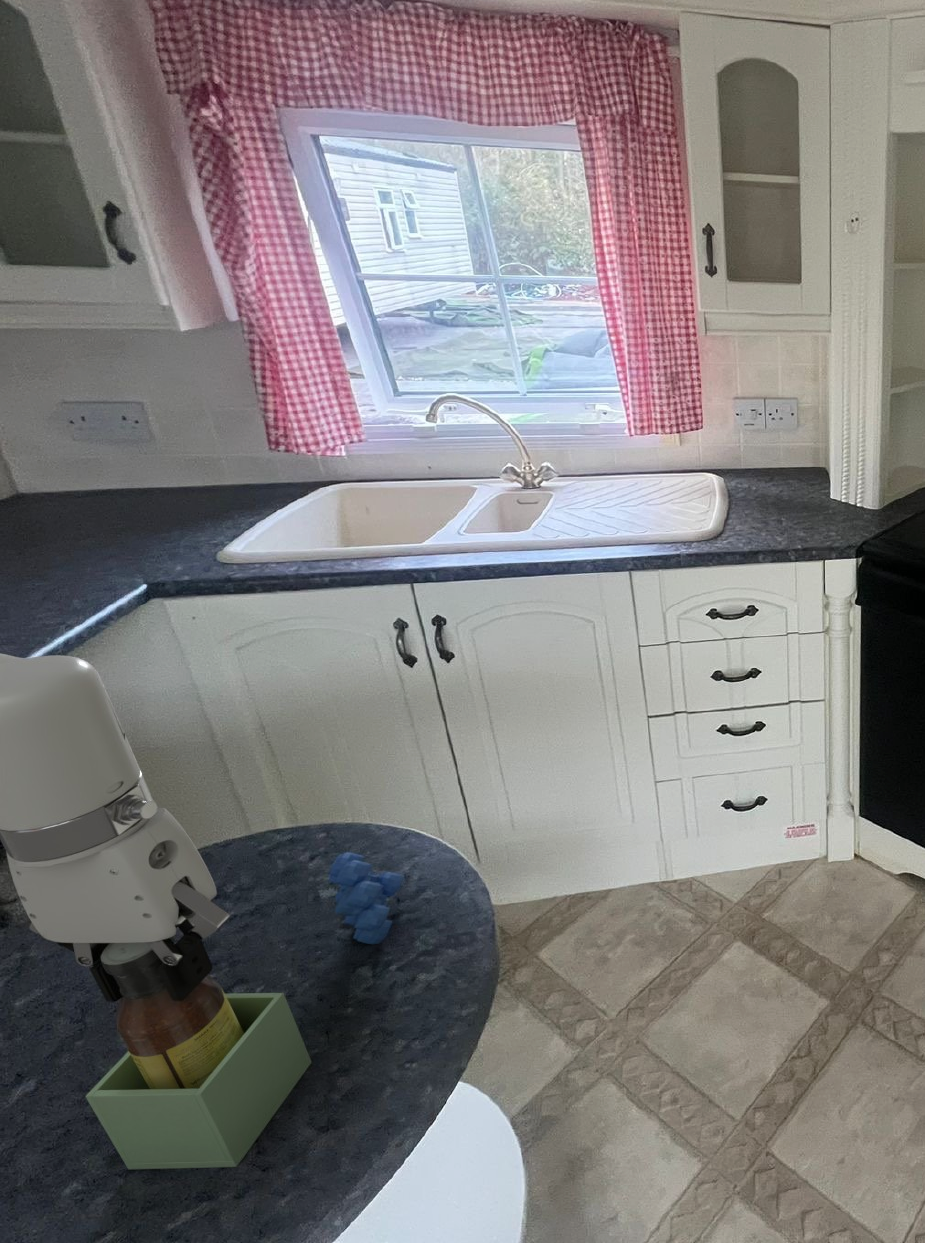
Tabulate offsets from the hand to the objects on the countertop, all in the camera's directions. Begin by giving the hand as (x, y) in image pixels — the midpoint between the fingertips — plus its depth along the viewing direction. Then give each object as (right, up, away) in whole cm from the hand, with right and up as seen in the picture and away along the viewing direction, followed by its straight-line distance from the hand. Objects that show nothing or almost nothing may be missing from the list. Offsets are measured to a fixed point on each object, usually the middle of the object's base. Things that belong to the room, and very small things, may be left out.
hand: (161, 983), depth 63 cm
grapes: (0, -9, +25) cm, 26 cm away
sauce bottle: (-1, -14, +6) cm, 15 cm away
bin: (-1, -16, +6) cm, 17 cm away
